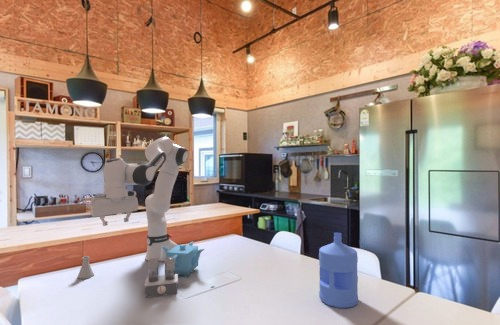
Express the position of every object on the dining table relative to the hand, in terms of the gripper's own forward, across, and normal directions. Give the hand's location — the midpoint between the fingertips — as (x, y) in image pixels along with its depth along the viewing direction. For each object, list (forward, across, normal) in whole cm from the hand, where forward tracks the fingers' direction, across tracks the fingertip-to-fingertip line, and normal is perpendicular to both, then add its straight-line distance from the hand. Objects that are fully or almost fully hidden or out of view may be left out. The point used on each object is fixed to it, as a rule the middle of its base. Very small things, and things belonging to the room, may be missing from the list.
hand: (116, 223), depth 130 cm
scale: (+31, +13, -16) cm, 37 cm away
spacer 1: (+25, +10, -15) cm, 31 cm away
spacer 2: (+26, +16, -18) cm, 35 cm away
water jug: (+33, +59, -79) cm, 104 cm away
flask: (+31, -5, +29) cm, 42 cm away
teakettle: (+32, +33, -4) cm, 46 cm away
